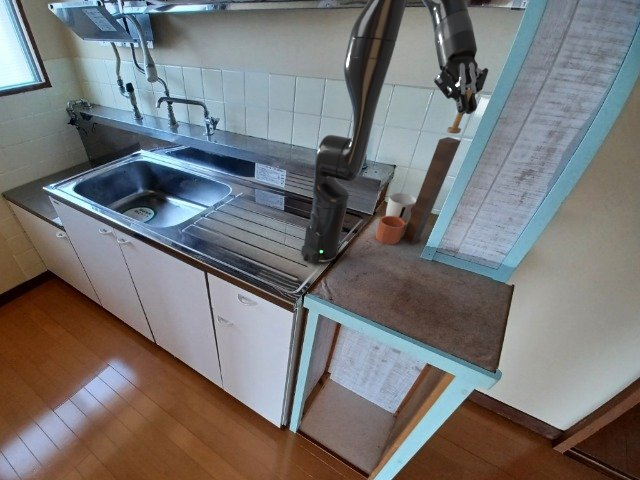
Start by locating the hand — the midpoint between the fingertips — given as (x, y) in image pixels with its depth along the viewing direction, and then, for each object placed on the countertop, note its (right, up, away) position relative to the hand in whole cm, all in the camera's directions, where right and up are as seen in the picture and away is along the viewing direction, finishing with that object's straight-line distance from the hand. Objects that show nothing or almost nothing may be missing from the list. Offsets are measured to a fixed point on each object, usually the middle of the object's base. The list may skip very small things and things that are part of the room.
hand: (468, 112), depth 77 cm
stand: (0, -25, +27) cm, 37 cm away
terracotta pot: (-7, -25, +28) cm, 38 cm away
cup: (-2, -20, +33) cm, 38 cm away
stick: (0, -2, +5) cm, 5 cm away
